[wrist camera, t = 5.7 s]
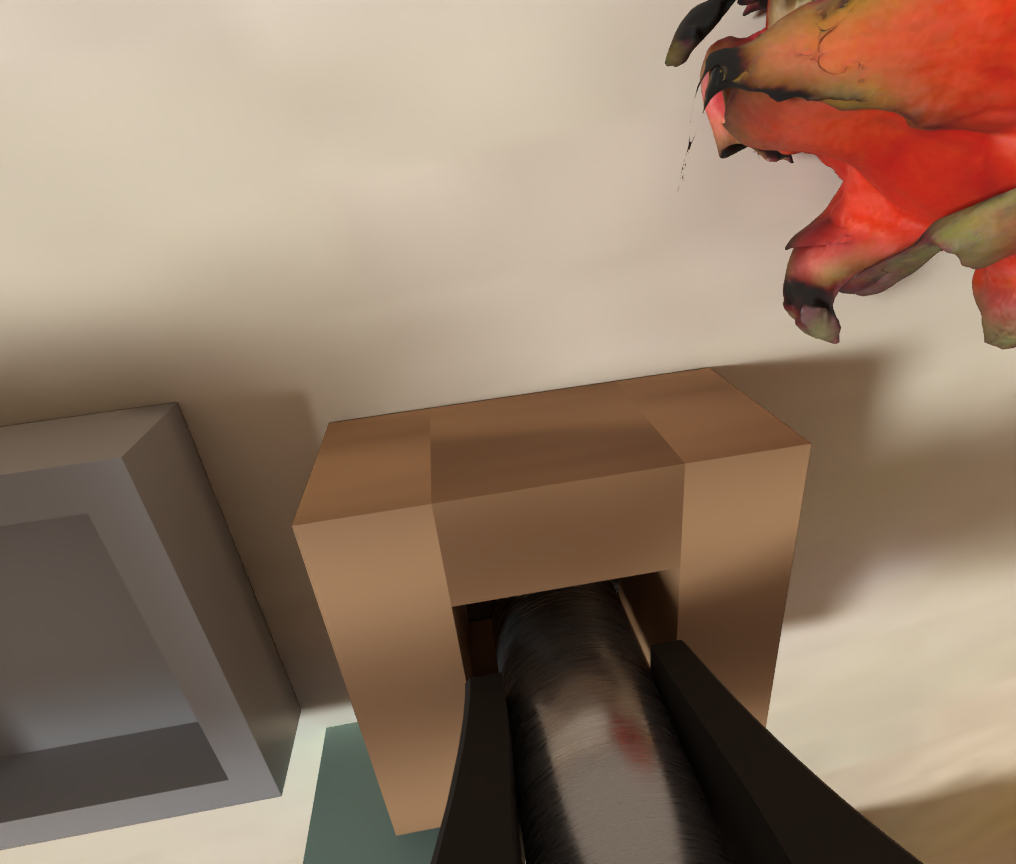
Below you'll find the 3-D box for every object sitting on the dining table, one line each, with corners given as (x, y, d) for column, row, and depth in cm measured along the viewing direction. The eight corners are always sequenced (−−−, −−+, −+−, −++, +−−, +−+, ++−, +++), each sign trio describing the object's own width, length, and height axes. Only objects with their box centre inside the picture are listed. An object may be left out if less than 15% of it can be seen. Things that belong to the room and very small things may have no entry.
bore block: (691, 639, 17) (759, 763, 14) (402, 692, 17) (396, 835, 13) (708, 367, 13) (811, 443, 10) (329, 423, 13) (291, 526, 9)
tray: (301, 710, 17) (281, 796, 14) (-58, 775, 16) (-137, 876, 14) (177, 401, 12) (121, 457, 10) (-331, 473, 11) (-514, 550, 9)
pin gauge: (622, 646, 14) (783, 1051, 8) (503, 672, 14) (568, 1108, 8) (614, 552, 12) (803, 958, 6) (481, 581, 12) (539, 1024, 6)
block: (473, 781, 19) (492, 1024, 14) (355, 804, 19) (328, 1062, 14) (456, 703, 17) (470, 947, 12) (326, 727, 17) (281, 988, 12)
